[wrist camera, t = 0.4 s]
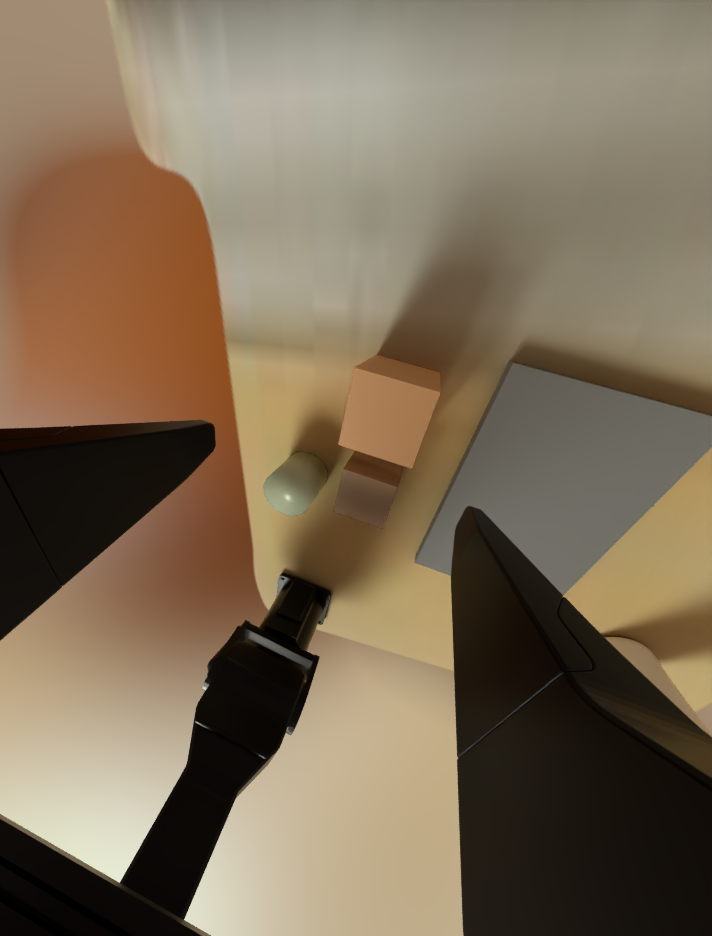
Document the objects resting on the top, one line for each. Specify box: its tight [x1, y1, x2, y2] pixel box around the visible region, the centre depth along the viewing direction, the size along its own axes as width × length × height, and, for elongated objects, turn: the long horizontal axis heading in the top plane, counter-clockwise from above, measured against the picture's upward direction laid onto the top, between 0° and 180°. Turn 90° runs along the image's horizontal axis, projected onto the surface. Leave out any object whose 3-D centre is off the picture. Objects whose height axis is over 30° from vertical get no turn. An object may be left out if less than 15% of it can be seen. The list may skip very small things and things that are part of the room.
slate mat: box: [415, 361, 712, 595], centre depth 21 cm, size 18×12×1 cm, turn 168°
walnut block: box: [334, 451, 403, 529], centre depth 22 cm, size 4×4×4 cm
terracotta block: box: [338, 355, 441, 469], centre depth 18 cm, size 4×4×6 cm
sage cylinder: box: [264, 452, 327, 516], centre depth 24 cm, size 4×4×4 cm
